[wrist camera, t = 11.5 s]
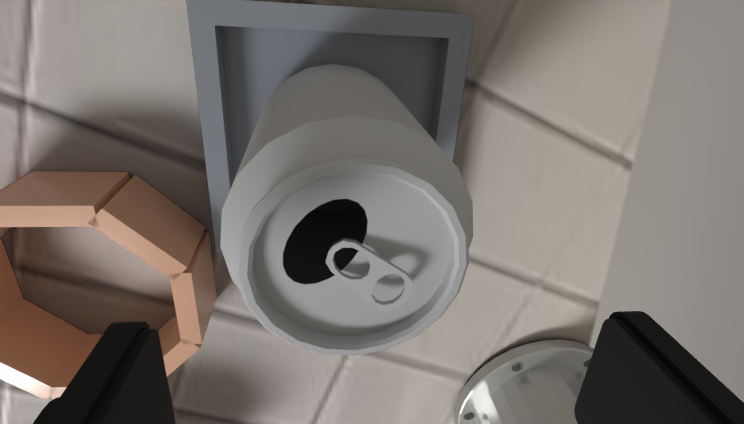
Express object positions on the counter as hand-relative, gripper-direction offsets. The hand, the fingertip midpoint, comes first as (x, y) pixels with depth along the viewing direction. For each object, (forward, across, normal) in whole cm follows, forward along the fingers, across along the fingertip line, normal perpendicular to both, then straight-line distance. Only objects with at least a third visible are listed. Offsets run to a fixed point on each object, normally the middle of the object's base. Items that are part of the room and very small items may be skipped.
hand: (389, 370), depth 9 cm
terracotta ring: (+15, +13, +7) cm, 21 cm away
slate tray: (+15, +1, -1) cm, 15 cm away
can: (+15, +1, -1) cm, 15 cm away
